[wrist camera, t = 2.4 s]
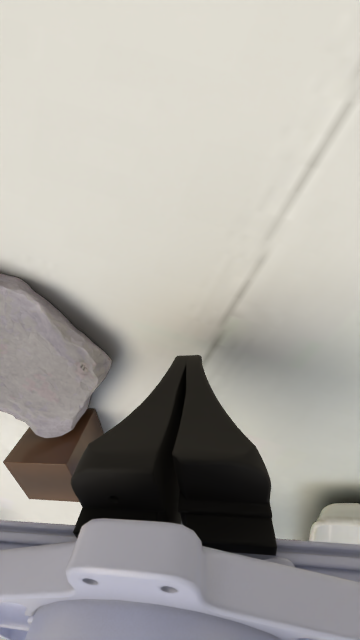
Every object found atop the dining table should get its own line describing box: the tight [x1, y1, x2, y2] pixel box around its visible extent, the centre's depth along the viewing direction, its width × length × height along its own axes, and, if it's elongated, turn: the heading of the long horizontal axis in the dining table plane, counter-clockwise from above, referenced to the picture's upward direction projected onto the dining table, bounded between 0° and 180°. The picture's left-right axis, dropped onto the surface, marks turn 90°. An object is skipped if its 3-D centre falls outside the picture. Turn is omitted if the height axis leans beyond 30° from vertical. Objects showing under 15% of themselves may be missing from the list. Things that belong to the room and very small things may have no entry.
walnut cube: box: [3, 409, 104, 502], centre depth 20 cm, size 5×5×5 cm
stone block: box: [0, 274, 112, 438], centre depth 17 cm, size 12×5×10 cm
